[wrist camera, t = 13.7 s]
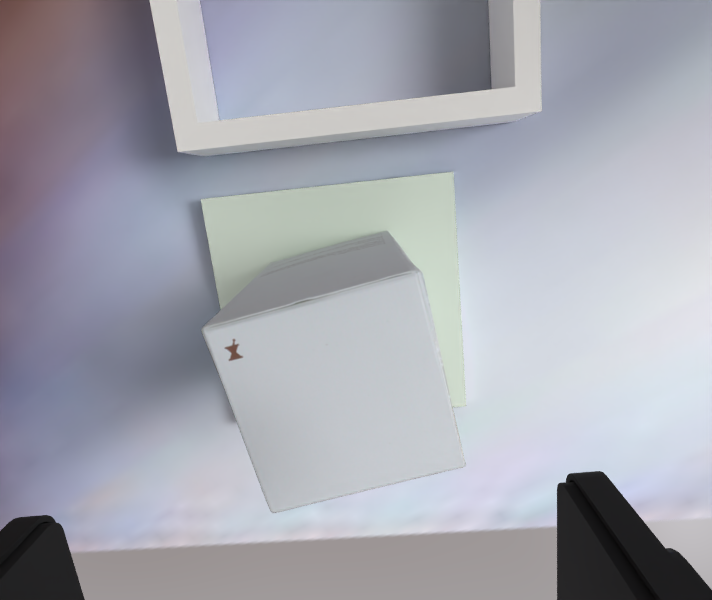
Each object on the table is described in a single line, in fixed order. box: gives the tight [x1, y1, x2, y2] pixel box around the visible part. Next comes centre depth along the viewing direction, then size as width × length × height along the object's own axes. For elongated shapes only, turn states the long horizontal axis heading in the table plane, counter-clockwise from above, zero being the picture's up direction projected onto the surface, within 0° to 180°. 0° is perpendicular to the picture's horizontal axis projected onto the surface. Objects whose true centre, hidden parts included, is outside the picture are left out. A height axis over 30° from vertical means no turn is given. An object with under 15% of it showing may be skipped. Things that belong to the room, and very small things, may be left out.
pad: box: [201, 172, 466, 407], centre depth 28 cm, size 14×14×1 cm
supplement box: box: [201, 231, 466, 513], centre depth 22 cm, size 7×7×13 cm
